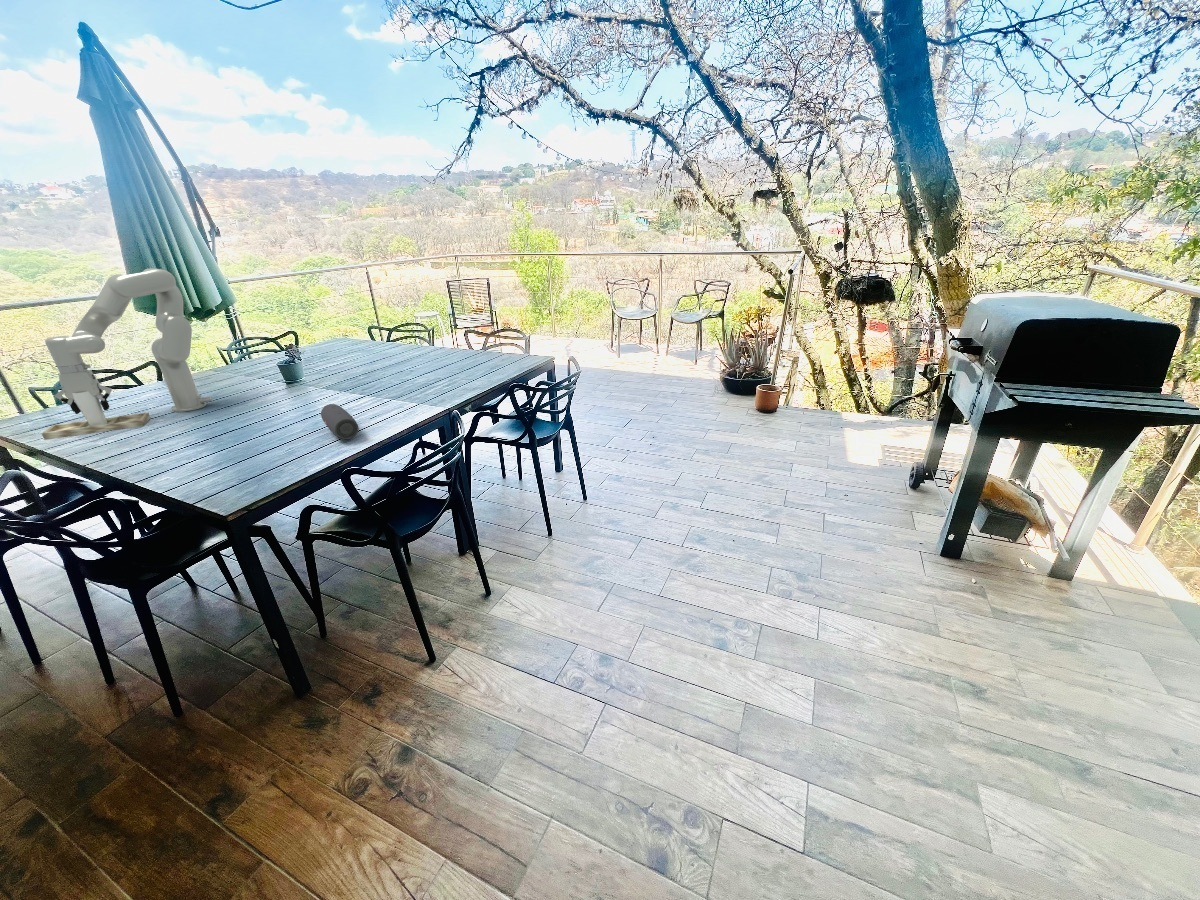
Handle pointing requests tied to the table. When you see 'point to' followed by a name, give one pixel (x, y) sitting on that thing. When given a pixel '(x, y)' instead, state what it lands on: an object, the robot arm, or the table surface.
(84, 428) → the wooden compartment tray
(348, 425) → the bluetooth speaker
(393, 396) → the table surface
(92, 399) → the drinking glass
